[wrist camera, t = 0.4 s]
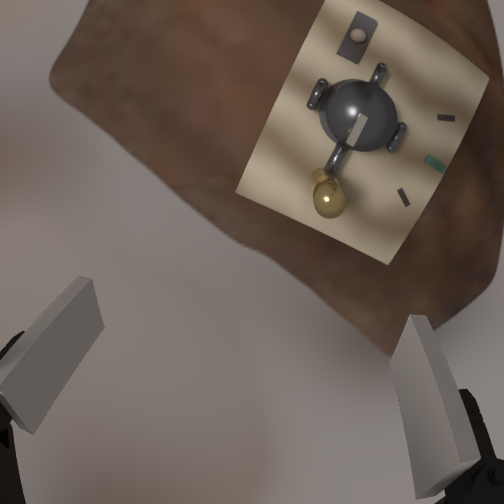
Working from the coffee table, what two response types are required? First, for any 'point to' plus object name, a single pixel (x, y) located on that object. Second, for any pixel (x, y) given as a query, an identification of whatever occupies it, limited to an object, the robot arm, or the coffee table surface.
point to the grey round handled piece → (352, 132)
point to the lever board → (378, 161)
